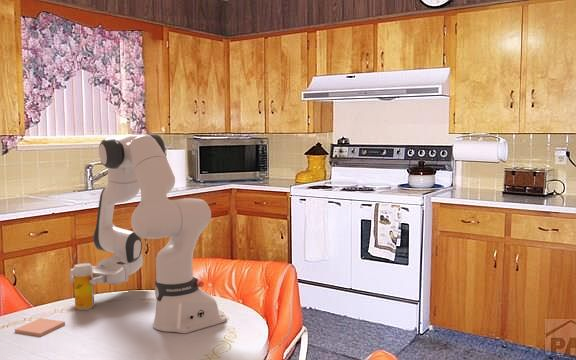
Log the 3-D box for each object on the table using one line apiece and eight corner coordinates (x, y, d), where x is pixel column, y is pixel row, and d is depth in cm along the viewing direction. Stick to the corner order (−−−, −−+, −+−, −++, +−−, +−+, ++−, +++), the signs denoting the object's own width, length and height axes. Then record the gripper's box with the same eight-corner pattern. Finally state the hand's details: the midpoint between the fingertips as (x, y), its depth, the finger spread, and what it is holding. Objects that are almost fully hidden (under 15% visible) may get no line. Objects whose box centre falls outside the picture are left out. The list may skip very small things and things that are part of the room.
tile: (40, 318, 174) (14, 329, 165) (64, 321, 170) (40, 333, 161) (40, 322, 174) (15, 333, 165) (65, 325, 171) (40, 337, 161)
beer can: (75, 305, 188) (73, 263, 186) (94, 303, 190) (92, 261, 188) (75, 311, 182) (72, 267, 181) (94, 309, 184) (92, 266, 183)
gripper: (85, 259, 200) (57, 269, 188) (131, 264, 193) (105, 274, 180) (86, 276, 201) (58, 286, 188) (132, 281, 194) (106, 292, 181)
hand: (81, 280), depth 184 cm, fingers open, 6 cm apart
